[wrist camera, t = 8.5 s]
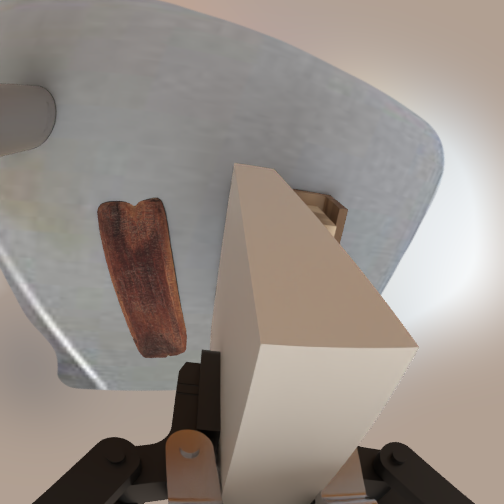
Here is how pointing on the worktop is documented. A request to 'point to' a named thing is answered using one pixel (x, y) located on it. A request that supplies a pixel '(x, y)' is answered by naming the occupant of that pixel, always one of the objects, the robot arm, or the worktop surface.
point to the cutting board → (294, 347)
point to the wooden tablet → (144, 274)
